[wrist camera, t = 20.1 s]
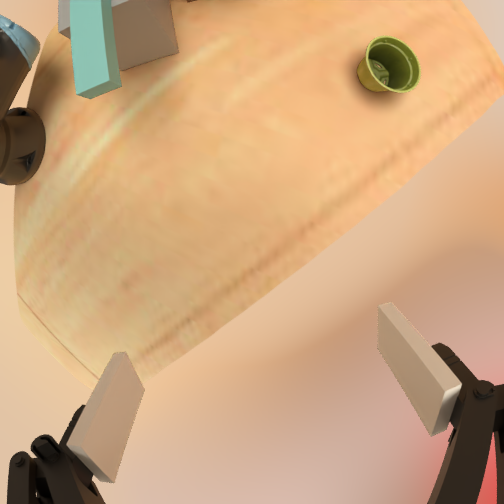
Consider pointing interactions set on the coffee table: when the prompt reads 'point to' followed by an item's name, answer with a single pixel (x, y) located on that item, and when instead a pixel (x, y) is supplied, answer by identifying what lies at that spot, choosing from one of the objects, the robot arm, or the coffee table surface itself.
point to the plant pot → (389, 66)
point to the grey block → (134, 30)
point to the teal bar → (93, 48)
